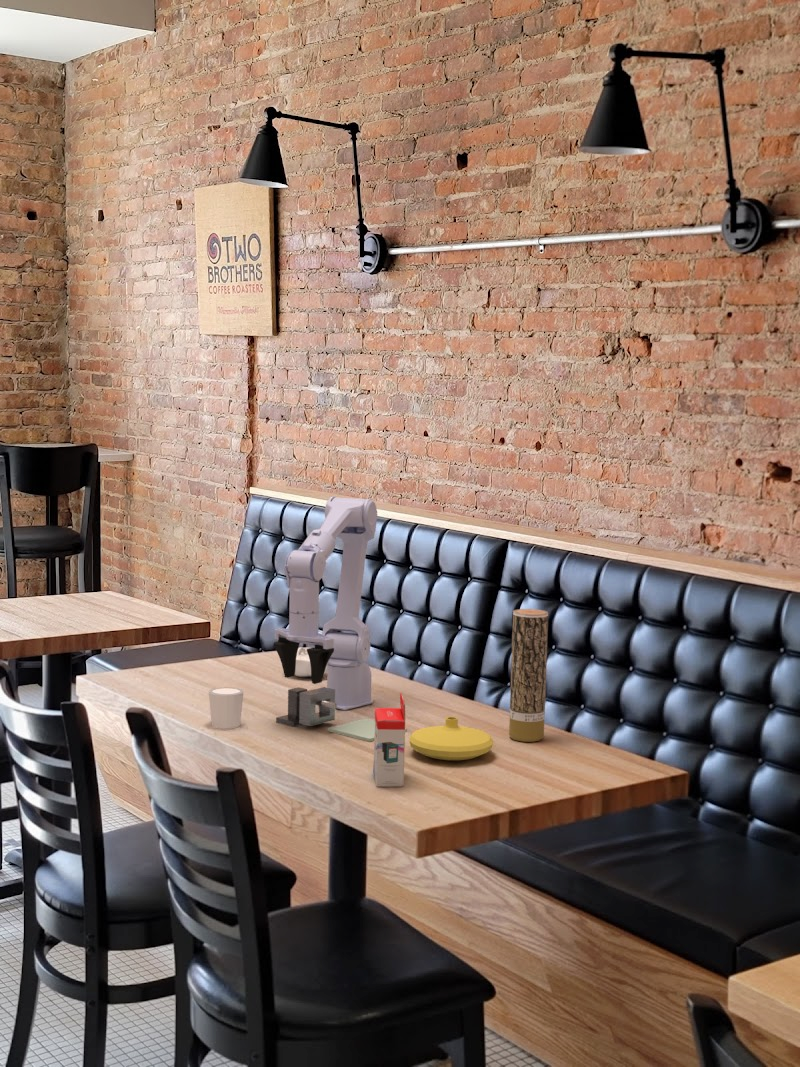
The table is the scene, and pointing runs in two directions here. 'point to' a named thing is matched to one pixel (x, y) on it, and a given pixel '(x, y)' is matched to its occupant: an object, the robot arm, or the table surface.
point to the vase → (451, 741)
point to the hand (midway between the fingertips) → (303, 679)
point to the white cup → (226, 707)
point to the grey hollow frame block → (308, 706)
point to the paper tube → (528, 674)
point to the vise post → (298, 707)
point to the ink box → (389, 746)
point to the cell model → (303, 664)
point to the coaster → (357, 729)
